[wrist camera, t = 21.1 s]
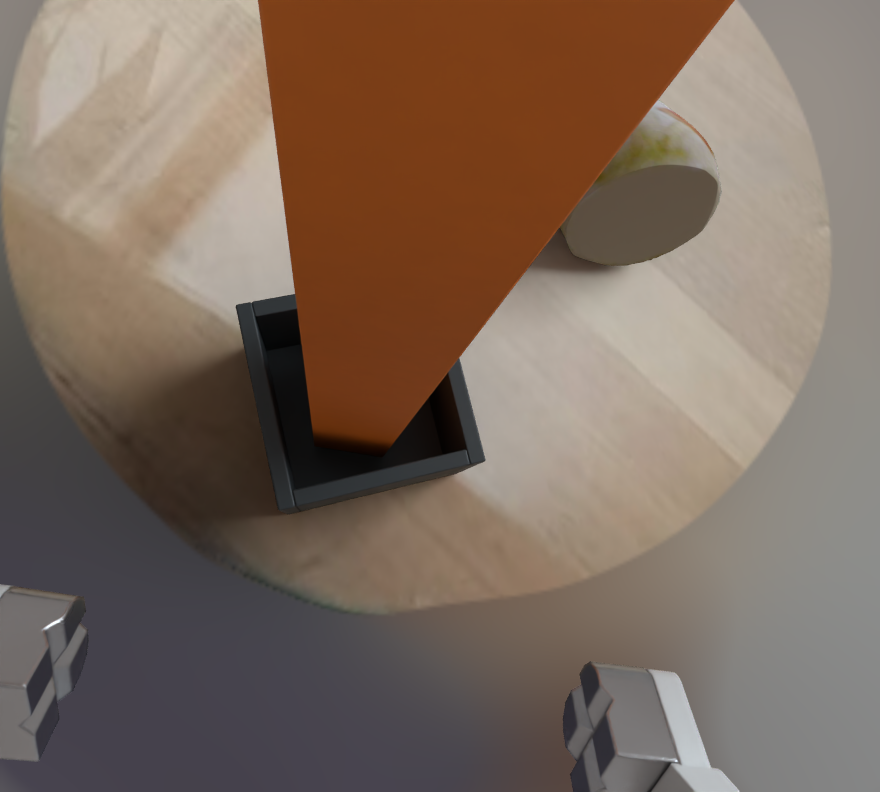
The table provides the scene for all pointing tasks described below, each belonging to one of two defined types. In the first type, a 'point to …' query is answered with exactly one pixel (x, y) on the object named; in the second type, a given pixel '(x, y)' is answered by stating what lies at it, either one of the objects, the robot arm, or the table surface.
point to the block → (441, 170)
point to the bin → (334, 471)
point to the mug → (647, 194)
